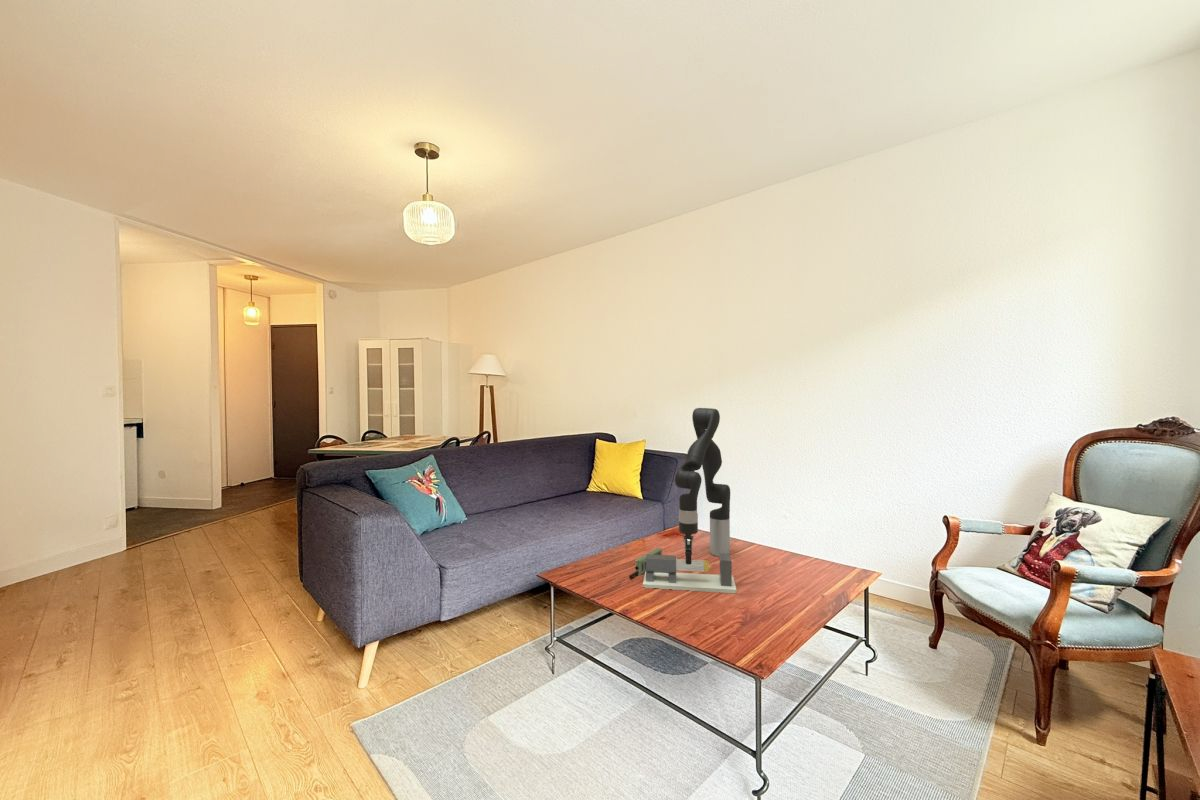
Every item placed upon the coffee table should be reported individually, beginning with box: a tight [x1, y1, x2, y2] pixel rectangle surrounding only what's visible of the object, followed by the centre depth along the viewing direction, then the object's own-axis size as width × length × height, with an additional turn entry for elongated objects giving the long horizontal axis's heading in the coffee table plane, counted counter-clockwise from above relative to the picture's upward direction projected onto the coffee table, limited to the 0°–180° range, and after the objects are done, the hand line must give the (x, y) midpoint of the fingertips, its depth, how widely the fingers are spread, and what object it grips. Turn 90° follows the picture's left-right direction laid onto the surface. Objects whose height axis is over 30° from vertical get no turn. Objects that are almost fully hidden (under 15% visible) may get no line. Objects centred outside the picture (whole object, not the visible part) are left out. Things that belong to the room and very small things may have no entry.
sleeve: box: [646, 553, 677, 583], centre depth 195 cm, size 8×12×9 cm, turn 80°
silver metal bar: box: [676, 558, 710, 573], centre depth 194 cm, size 3×24×3 cm, turn 80°
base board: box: [642, 572, 738, 594], centre depth 193 cm, size 14×36×2 cm, turn 80°
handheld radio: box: [628, 547, 663, 579], centre depth 208 cm, size 7×3×25 cm
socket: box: [719, 553, 733, 586], centre depth 190 cm, size 8×4×10 cm, turn 170°
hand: (688, 560), depth 193 cm, fingers open, 8 cm apart
